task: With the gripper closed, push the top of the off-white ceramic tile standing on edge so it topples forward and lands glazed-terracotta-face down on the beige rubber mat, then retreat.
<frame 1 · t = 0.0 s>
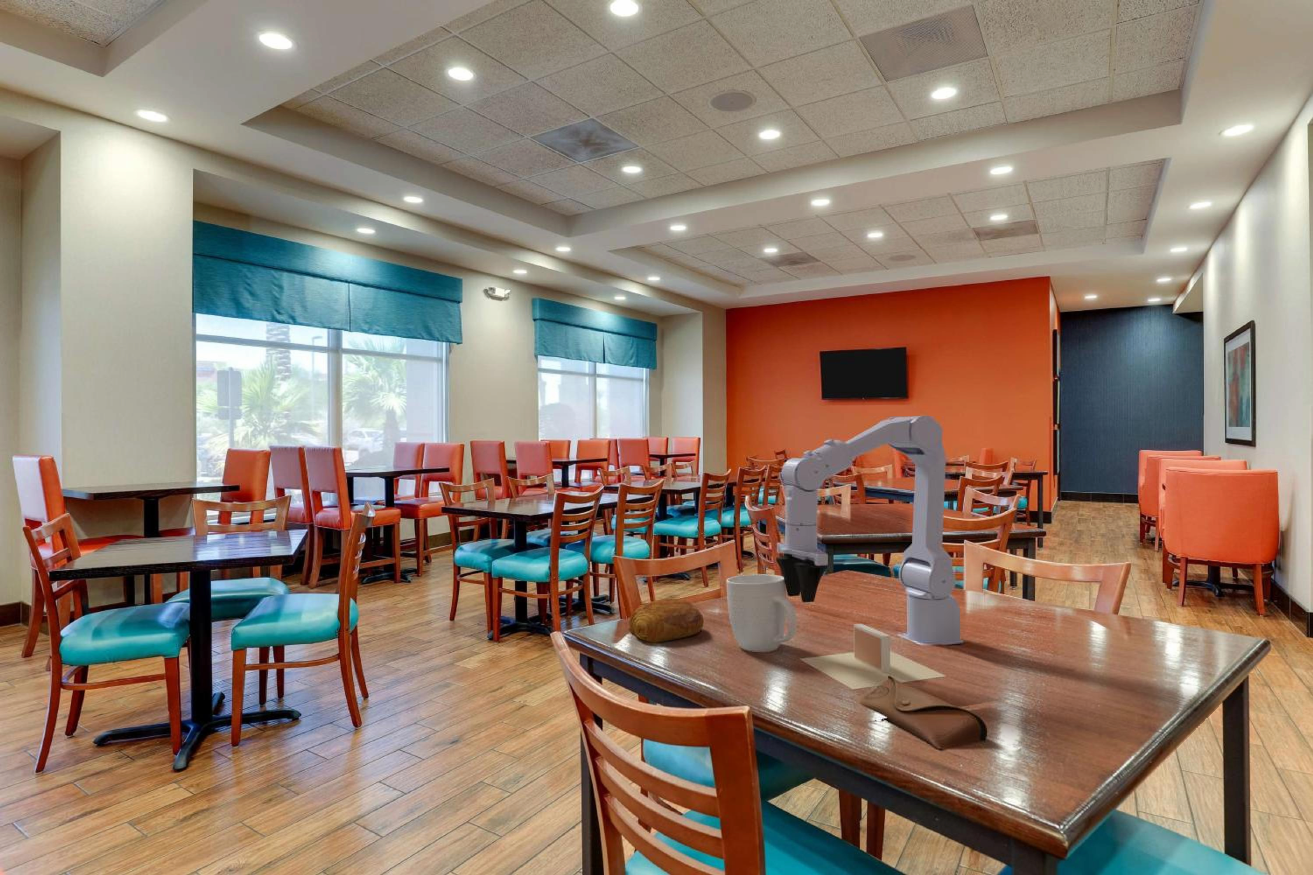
hand: (800, 598, 129), 10 cm above the table, fingers open, 4 cm apart
mug: (763, 650, 132), on the table, touching gripper
brown rounded lump: (664, 634, 145), on the table
tile: (871, 664, 122), point 1 cm above the table, touching mat
sunglasses case: (914, 725, 100), on the table
mat: (870, 670, 121), on the table
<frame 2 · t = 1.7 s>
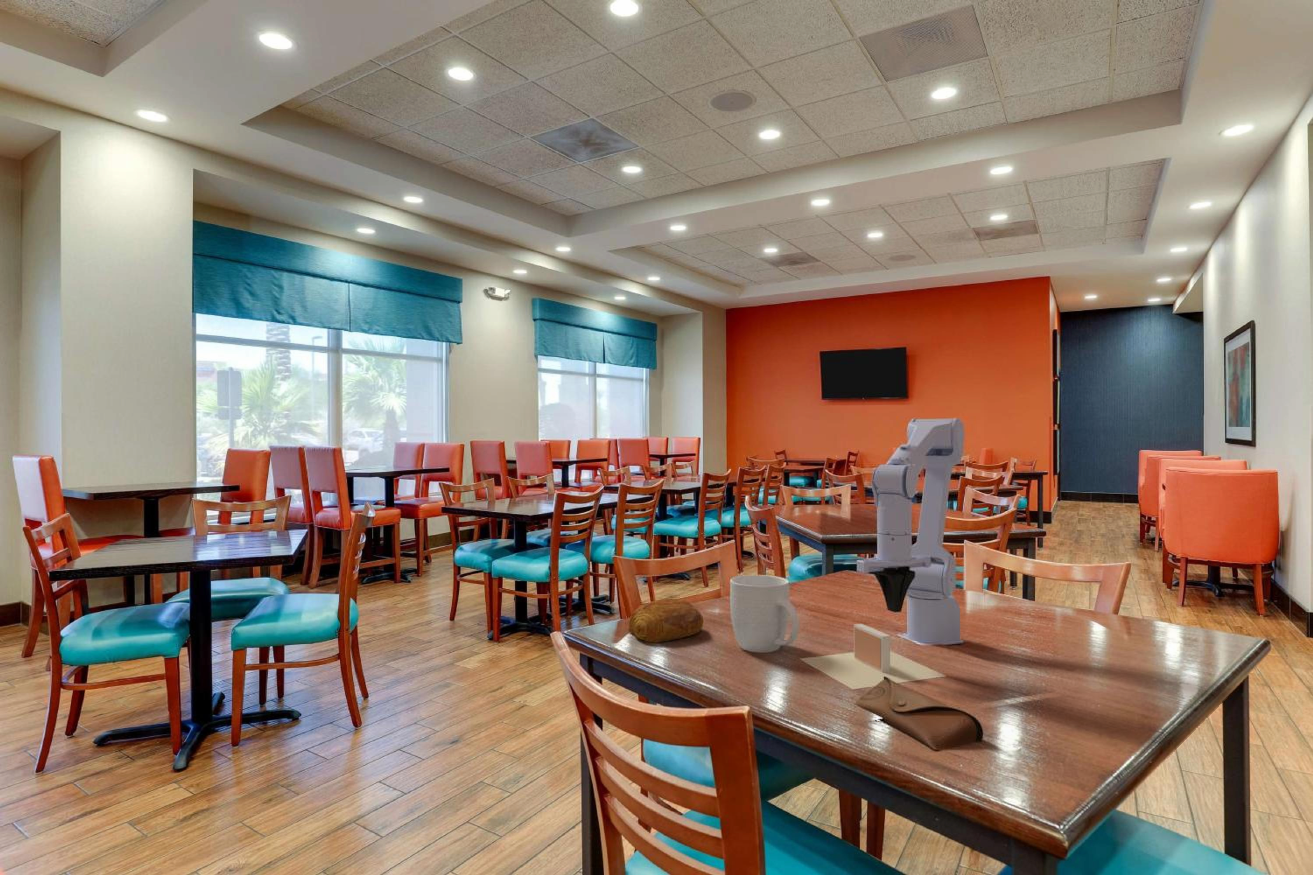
hand: (894, 610, 124), 9 cm above the table, fingers closed
mug: (763, 652, 132), on the table
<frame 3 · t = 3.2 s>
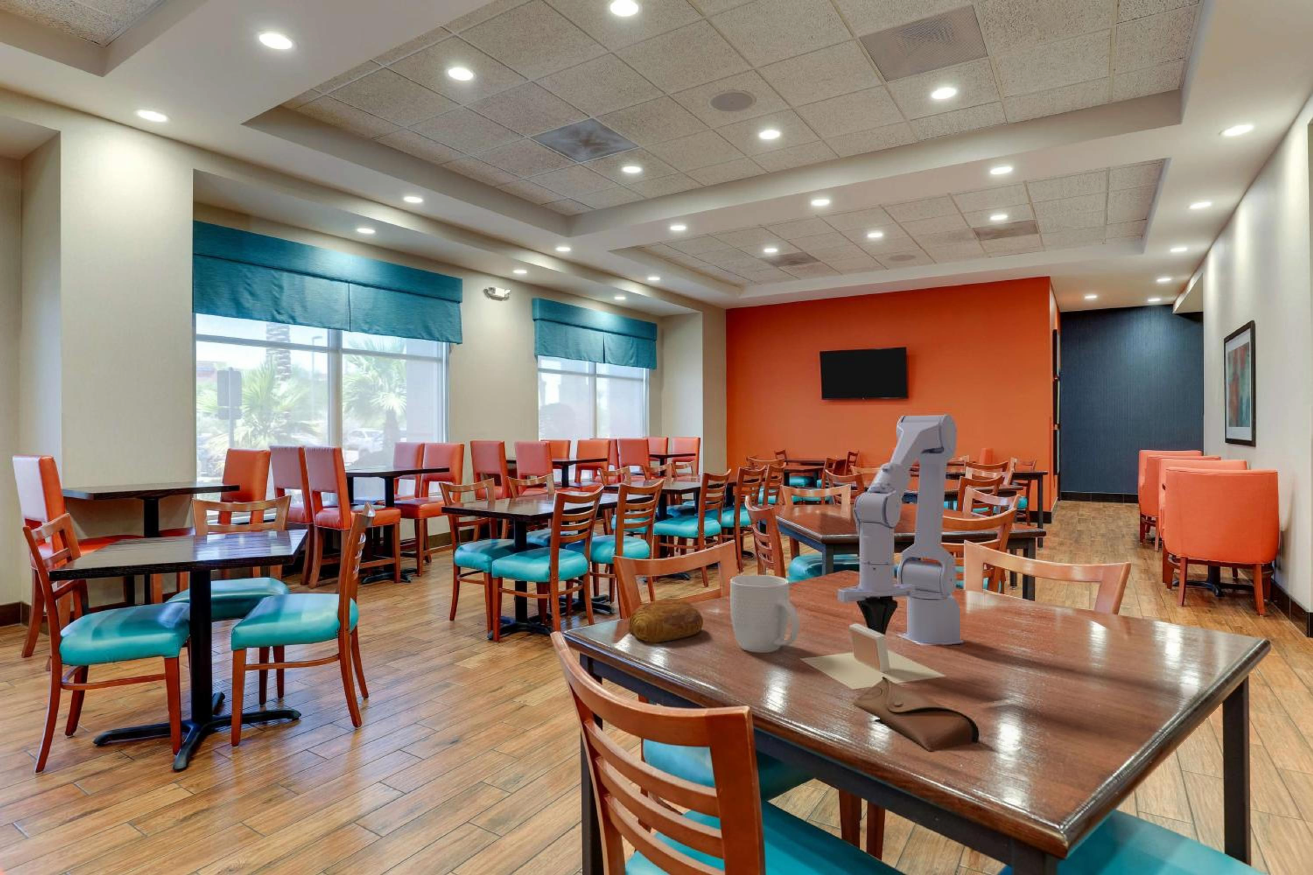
hand: (876, 640, 123), 5 cm above the table, fingers closed
tile: (871, 663, 122), point 1 cm above the table, tilted 10°, touching gripper, mat
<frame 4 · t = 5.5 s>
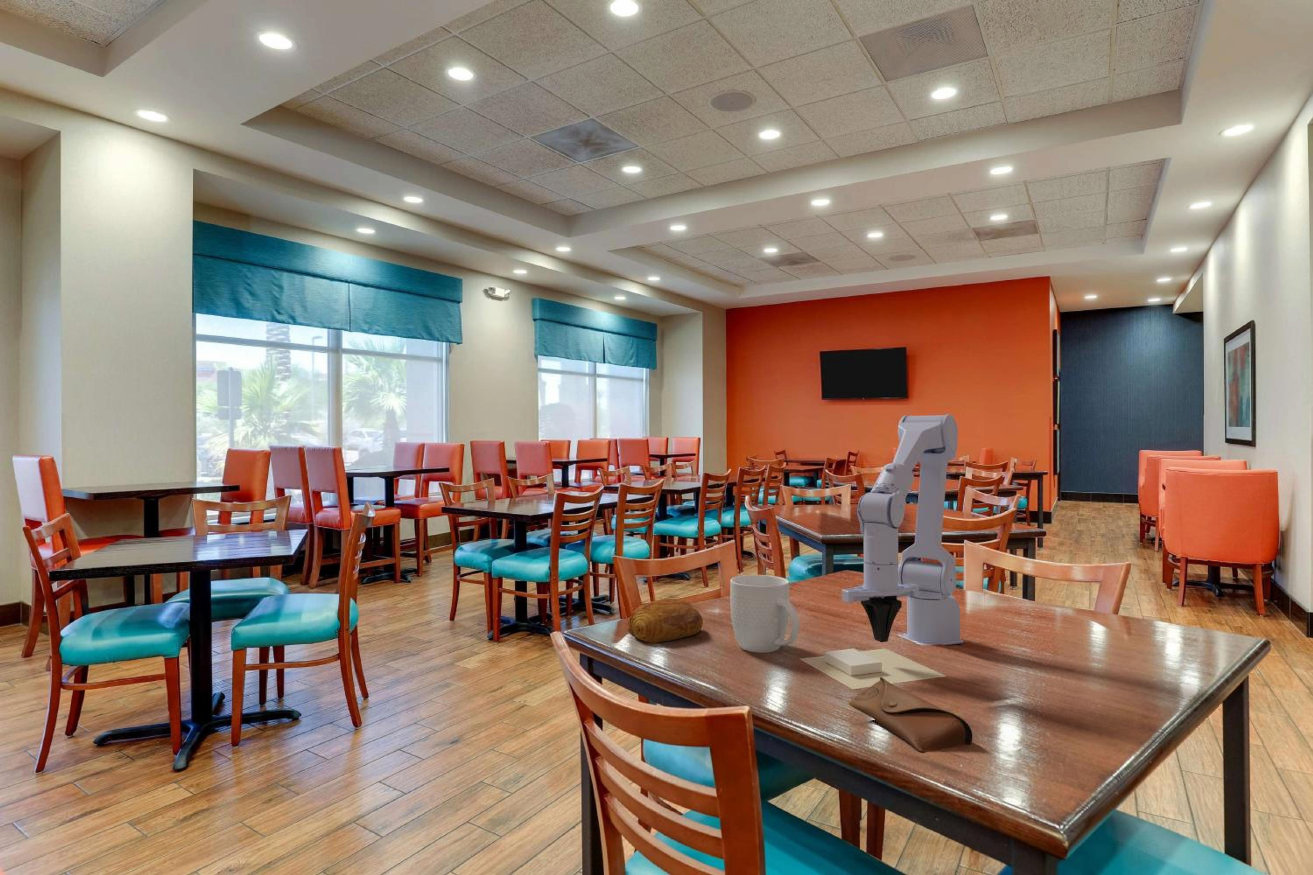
hand: (881, 640, 123), 5 cm above the table, fingers closed
tile: (867, 659, 122), point 2 cm above the table, tilted 90°, touching mat
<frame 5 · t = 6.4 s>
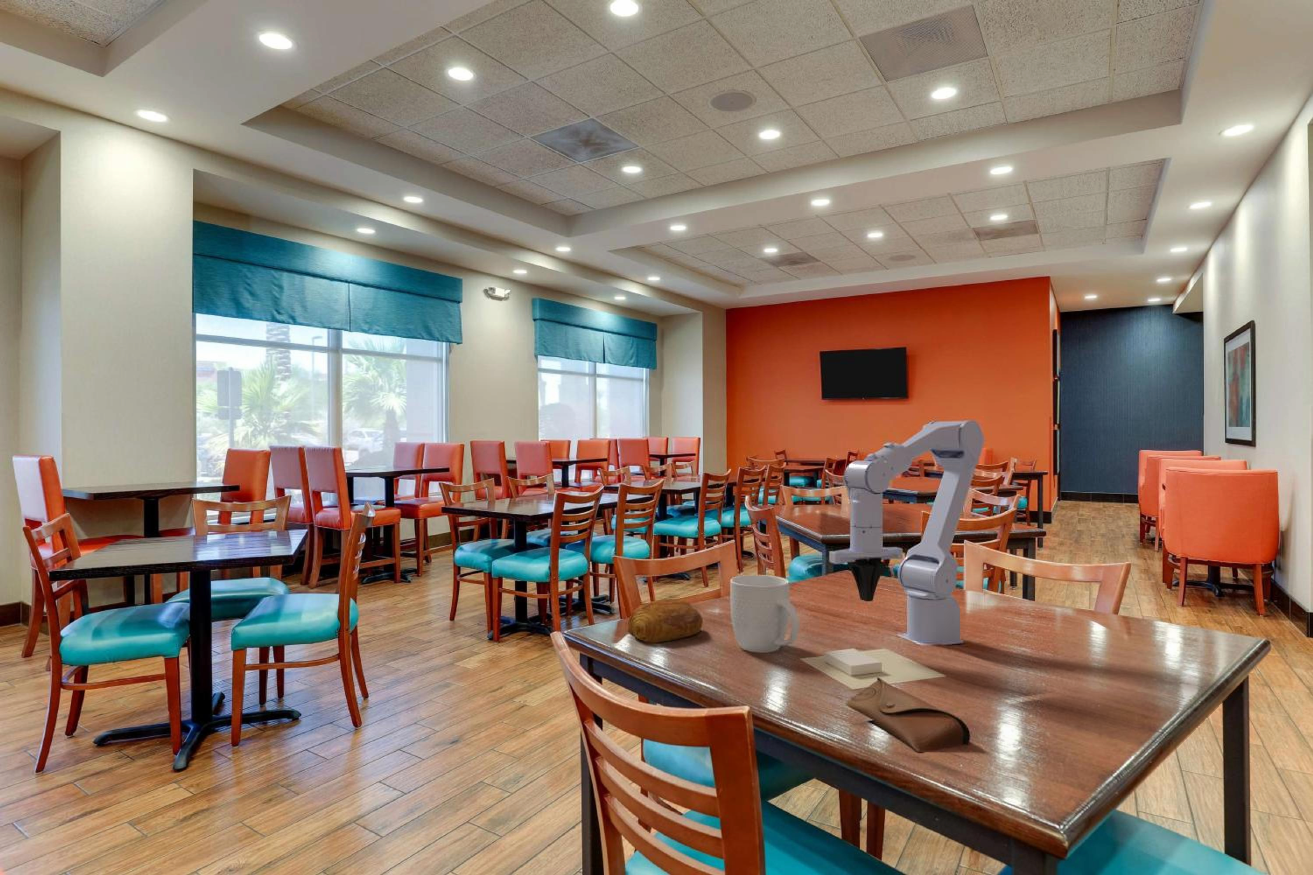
hand: (866, 600, 130), 10 cm above the table, fingers closed
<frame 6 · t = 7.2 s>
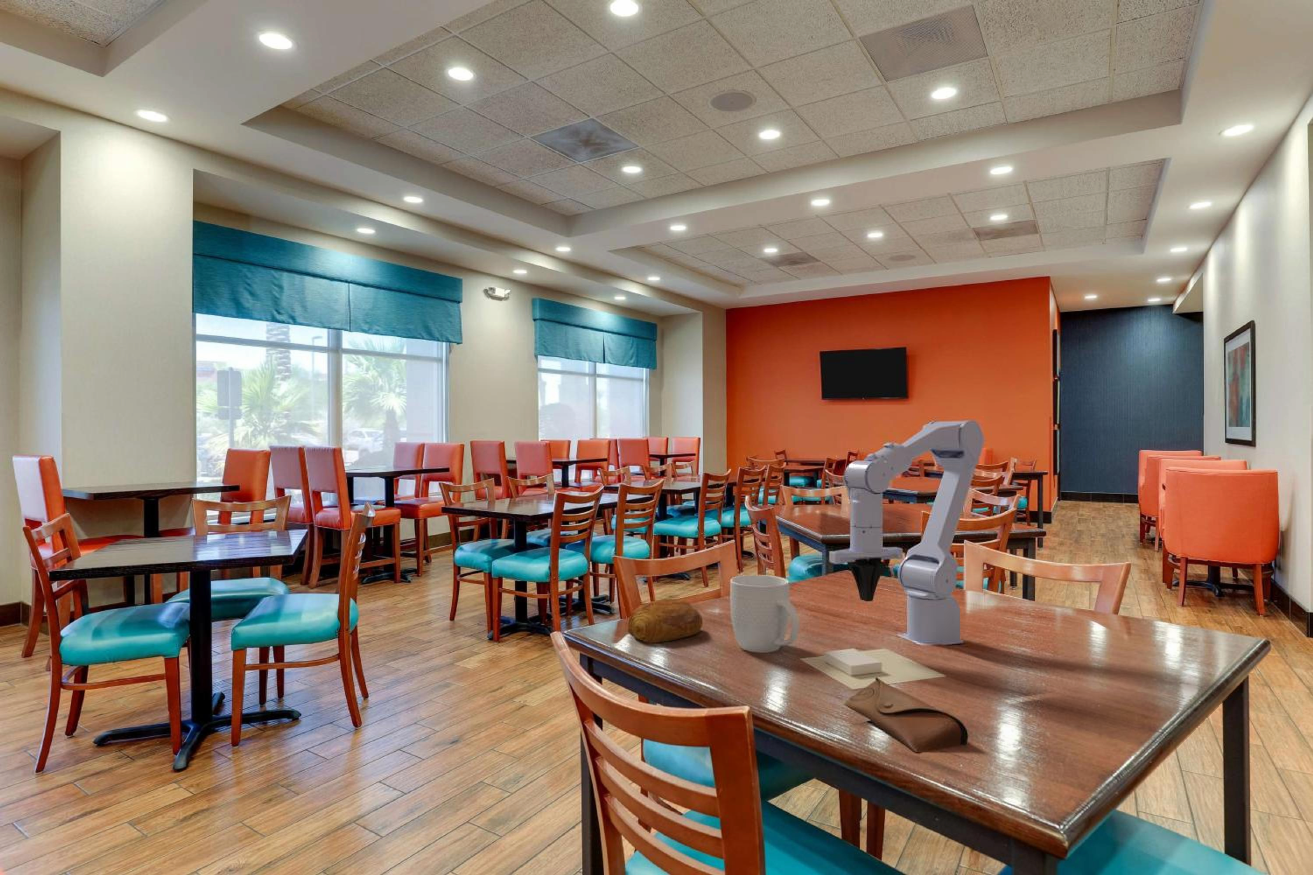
hand: (866, 600, 130), 10 cm above the table, fingers closed
at the end: tile tilted 90°; tile inside the target area on the mat (1.2 cm from its centre), point 1.5 cm above the mat's base; the gripper is holding nothing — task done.
